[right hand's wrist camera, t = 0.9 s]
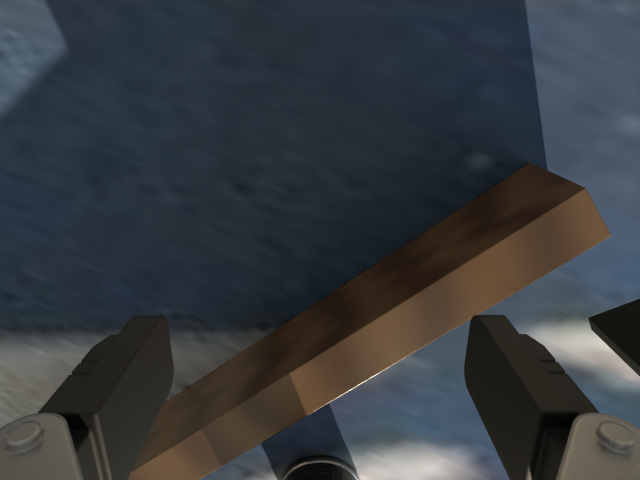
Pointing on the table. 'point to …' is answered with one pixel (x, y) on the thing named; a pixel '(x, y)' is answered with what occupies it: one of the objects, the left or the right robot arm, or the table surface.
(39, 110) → the table surface
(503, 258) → the post
